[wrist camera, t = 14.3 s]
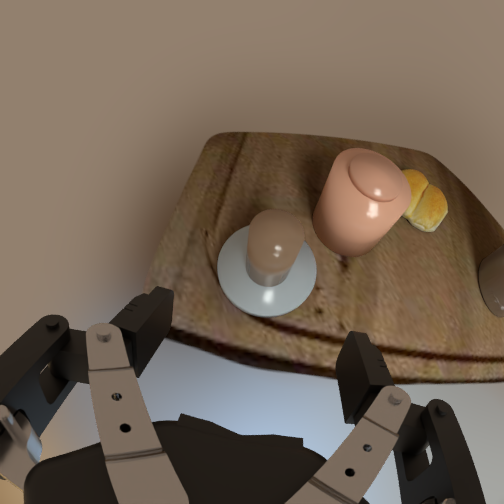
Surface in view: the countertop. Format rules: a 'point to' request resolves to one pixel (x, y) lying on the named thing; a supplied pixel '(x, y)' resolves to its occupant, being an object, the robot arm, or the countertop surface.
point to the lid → (267, 265)
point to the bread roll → (424, 202)
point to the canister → (360, 202)
